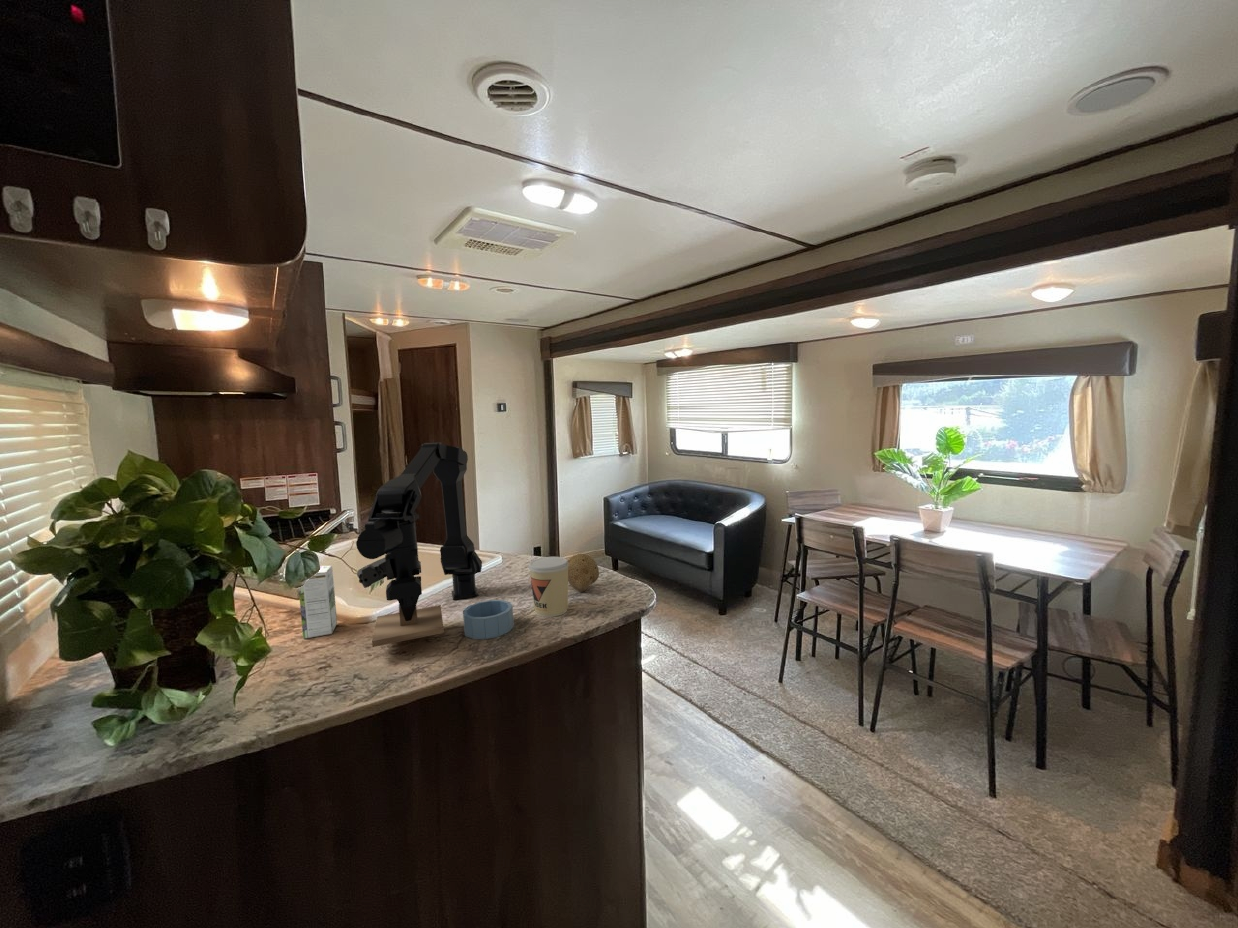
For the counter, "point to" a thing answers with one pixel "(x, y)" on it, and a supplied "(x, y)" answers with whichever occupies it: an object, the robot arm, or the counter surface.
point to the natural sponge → (582, 571)
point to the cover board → (407, 626)
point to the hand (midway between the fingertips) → (408, 617)
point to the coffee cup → (549, 585)
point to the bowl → (488, 619)
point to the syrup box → (318, 604)
